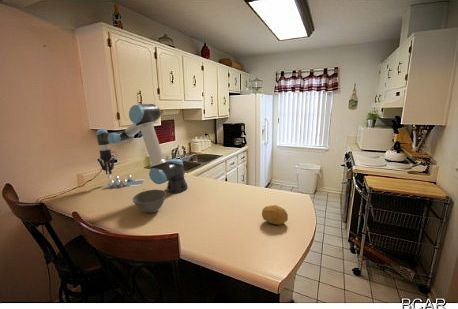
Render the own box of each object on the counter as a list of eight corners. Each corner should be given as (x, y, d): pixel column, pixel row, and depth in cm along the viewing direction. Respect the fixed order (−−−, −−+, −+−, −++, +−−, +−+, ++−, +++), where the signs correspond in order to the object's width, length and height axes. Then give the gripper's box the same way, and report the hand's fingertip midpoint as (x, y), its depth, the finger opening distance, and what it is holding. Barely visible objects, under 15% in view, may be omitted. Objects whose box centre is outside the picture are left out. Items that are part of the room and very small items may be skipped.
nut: (124, 182, 179) (124, 179, 179) (124, 184, 175) (123, 181, 174) (118, 183, 178) (118, 180, 177) (118, 185, 173) (117, 182, 173)
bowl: (134, 207, 136) (132, 193, 134) (165, 201, 143) (163, 187, 141) (134, 222, 119) (132, 205, 117) (169, 214, 126) (167, 198, 124)
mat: (145, 180, 186) (145, 179, 185) (140, 186, 171) (140, 185, 171) (112, 182, 183) (112, 181, 183) (104, 189, 168) (104, 188, 168)
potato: (285, 213, 104) (288, 203, 112) (258, 210, 110) (263, 200, 118) (286, 230, 107) (289, 219, 115) (260, 225, 113) (265, 215, 121)
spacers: (132, 180, 184) (131, 174, 183) (126, 186, 170) (125, 180, 169) (116, 181, 182) (115, 175, 181) (109, 187, 169) (108, 181, 168)
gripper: (115, 148, 173) (119, 176, 179) (98, 149, 172) (103, 177, 177) (111, 150, 166) (116, 179, 171) (93, 151, 164) (99, 180, 170)
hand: (109, 178), depth 174 cm, fingers closed
